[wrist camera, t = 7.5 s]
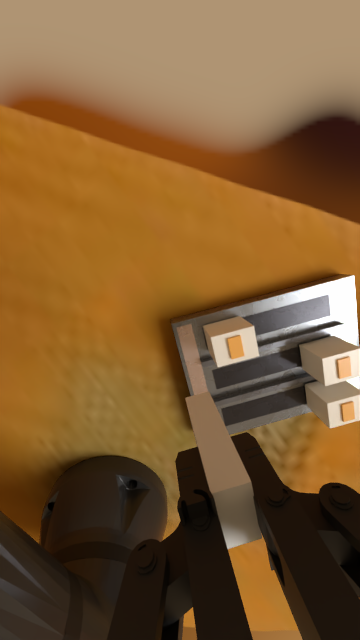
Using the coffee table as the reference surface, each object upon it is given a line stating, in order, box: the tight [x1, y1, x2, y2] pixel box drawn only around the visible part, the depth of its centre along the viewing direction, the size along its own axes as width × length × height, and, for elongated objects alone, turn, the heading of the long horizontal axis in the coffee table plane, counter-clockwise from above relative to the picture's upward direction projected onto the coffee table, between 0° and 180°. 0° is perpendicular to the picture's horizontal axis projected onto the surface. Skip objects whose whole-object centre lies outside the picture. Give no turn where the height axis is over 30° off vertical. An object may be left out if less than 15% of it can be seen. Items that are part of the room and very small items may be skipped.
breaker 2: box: [299, 335, 360, 386], centre depth 26 cm, size 4×3×4 cm
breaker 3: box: [305, 381, 360, 428], centre depth 28 cm, size 4×3×4 cm
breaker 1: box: [203, 316, 259, 367], centre depth 25 cm, size 4×3×4 cm
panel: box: [170, 274, 360, 435], centre depth 29 cm, size 20×15×3 cm
